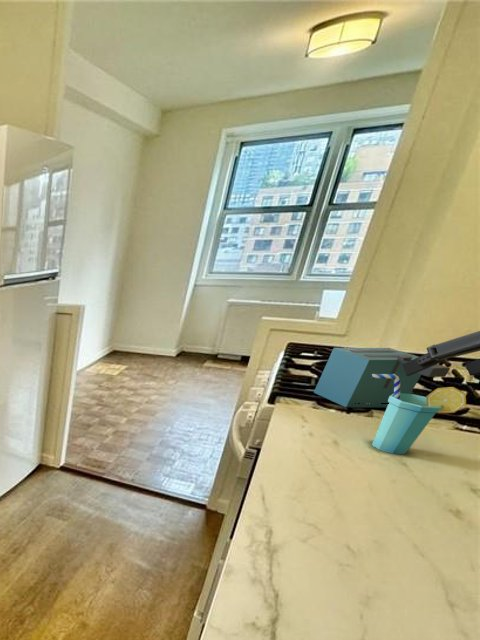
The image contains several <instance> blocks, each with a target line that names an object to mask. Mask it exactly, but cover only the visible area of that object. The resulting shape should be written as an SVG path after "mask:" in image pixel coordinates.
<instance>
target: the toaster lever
mask: <svg viewBox="0 0 480 640" xmlns="http://www.w3.org/2000/svg"><path fill="white" fill-rule="evenodd" d="M409 361H410V360H401V359H399V360H398V362H400V363H403V364H404V363H407V362H409ZM450 370H451V368H450V367H448V366H445V365H442V364H436V365H434V366H432V367H429V368H427V369H425V370H422V371H420V372H417V373H418V374H421V376H425V377H427V378H445V377H446V376H447V375H448V373H449V371H450Z"/></svg>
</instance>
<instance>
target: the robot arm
mask: <svg viewBox="0 0 480 640" xmlns="http://www.w3.org/2000/svg"><path fill="white" fill-rule="evenodd" d="M426 351H427V353H424V354H422V355H420V356H418V358H416V359H413V360H411V361H409V362H407V363H404V364H402V365H403V368H404V371H405V373H406V376H410V375H413V374H415V373H417V372H420V371H422V370H425V369H427V368H429V367H432V366H434V365H436V364H438V365H440V364H441V363H443V362H444V360H447V359H451V358H456V357H461V356H464V355H469V354H472V353H476V352H480V330H478V331H474V332H472V333H469V334H465V335H461V336H459V337H456V338H452V339H450V340H446V341H443V342H439V343H437V344H432V345H430V346H428V347H426ZM465 367H466V369H467V372H468V374H469V376H470V377H472V376H477V375H479V374H480V358H477V359H475V360H473V361H471V362H470V361H469V362H468V363H465Z"/></svg>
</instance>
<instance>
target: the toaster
mask: <svg viewBox="0 0 480 640" xmlns="http://www.w3.org/2000/svg"><path fill="white" fill-rule="evenodd" d="M418 357H419V356H418V355H415V354H411V353H408V352H404V351H402V350H397V349H394V348H391V347H333V349H332V351H331V354H330V355H329V357H328V360H327V362H326V364H325V366H324V368H323V371H322V373H321V375H320V378H319V379H318V382H317V384H316V386H315V388H314V391H313V394H316V395H318V396H320V397H322V398H324V399H326V400H329V401H330V402H333V403H335V404H338V405H340V406H342V407H344V408H387V406H388V404H381V403H389V402H388V399H389V397H390V396H391V395H392V394H394V380H393V379H392V378H371V375H372V374H395V375H397V376H398V377H399V378H400V393H404V394H412V392H413V390H414V389H415V387H416V385H417V384H418V381H419V380H420V378H421V376H422V375H421V374H418V373H415V374H413V375H410V376H406V373H405V371H404V368H403V365H402V364H403V363H400V362H398V360H399V359H401V360H410V361H411V360H413V359H416V358H418ZM355 403H356V404H355ZM358 403H360V404H358ZM362 403H363V404H362ZM366 403H368V404H366ZM369 403H370V404H369Z"/></svg>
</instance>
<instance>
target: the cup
mask: <svg viewBox="0 0 480 640" xmlns="http://www.w3.org/2000/svg"><path fill="white" fill-rule="evenodd" d="M371 378H392V379H393V380H394V394H392V395H391V396H390V397H389V399H388V402H389V404H388V406H387V407H386V409H385V411H384V414H383V417H382V419H381V421H380V424H379V426H378V429H377V432H376V434H375V435H374V439H373V441H372V444H371V446H373V447H374V448H375V449H377V450H379V451H382V452H386V453H388V454H392V455H406V454H407V452H408V451H409V450H410V448H411V447H412V446H413V444H414V443H415V442H416V440H417V439H418V437H419V436H420V435H421V434H422V433H423V431H424V429H425V428H426V427H427V426H428V425H429V422H430V421H431V420H432V419H433V417H434V416H435V415H436V414H454V413H456V412H458V411H459V410H460V409H462V408H463V407H465V406H466V405H467V397H466V396H467V394H466V392H463V390H460V389H459V388H456V387H454V386H447V387H437V388H436V389H434V390H433V391H431V392H430V393H429V394H427V395H426V396H423V395H419V394H413V393H411V394H404V393H400V378H399V377H398V376H397V375H395V374H372V375H371Z"/></svg>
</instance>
